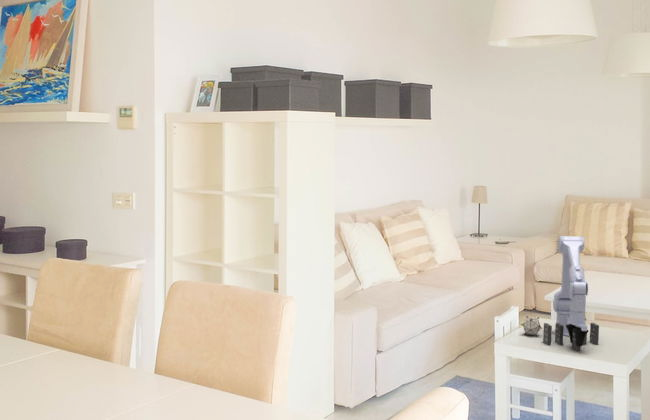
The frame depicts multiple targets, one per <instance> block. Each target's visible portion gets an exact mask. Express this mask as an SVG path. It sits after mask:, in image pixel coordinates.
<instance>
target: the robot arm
mask: <svg viewBox="0 0 650 420" xmlns="http://www.w3.org/2000/svg"><path fill="white" fill-rule="evenodd" d="M557 241H558V242H557V244H558V245H557V251H558V253H559V254H561V255H562V267H561V284H560V285H561V288H560V290H559V291H557V292H556V293H554V296H553V301H552V307H553V311H554V312H555V313H556V321H555V324H556V323H560V324H561V325H563V326H564V330H563V336H566V337H569V340H570V343H571V344H572V331H574V334H575V339H576V346H581V347H583V346H584V345H583V341H584V338H585V336H586V334H587V335H588V333H589V330H588V325H587V324H586V302H587V301H586V300H587V296H588V293H589V284H588V281H587V279H586V278H585V271H584V267H583V266H581V259H580V257H581V255H580V254H582V253H583V251H584V250H585V249H584V248H585V238H584V236H581V235H579V236H576V235H575V236H574V235H573V236H570V235H560V236H559V237H558V240H557ZM586 325H587V326H586ZM573 328H576V329H573ZM551 334H555V330H552V333H551Z"/></svg>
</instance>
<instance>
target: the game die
mask: <svg viewBox="0 0 650 420" xmlns="http://www.w3.org/2000/svg"><path fill="white" fill-rule="evenodd" d="M539 319H540V317H537V318H535V317H529V316H528V315H526V319H525V320H524V322H523V323H520V325H521V326H522V327H523V330H524V336H526V335H534V336H535V337H538V335H537V334H538V333H539V332H540V330H542V329H543V327H542V326H541V323H540V321H539Z"/></svg>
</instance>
